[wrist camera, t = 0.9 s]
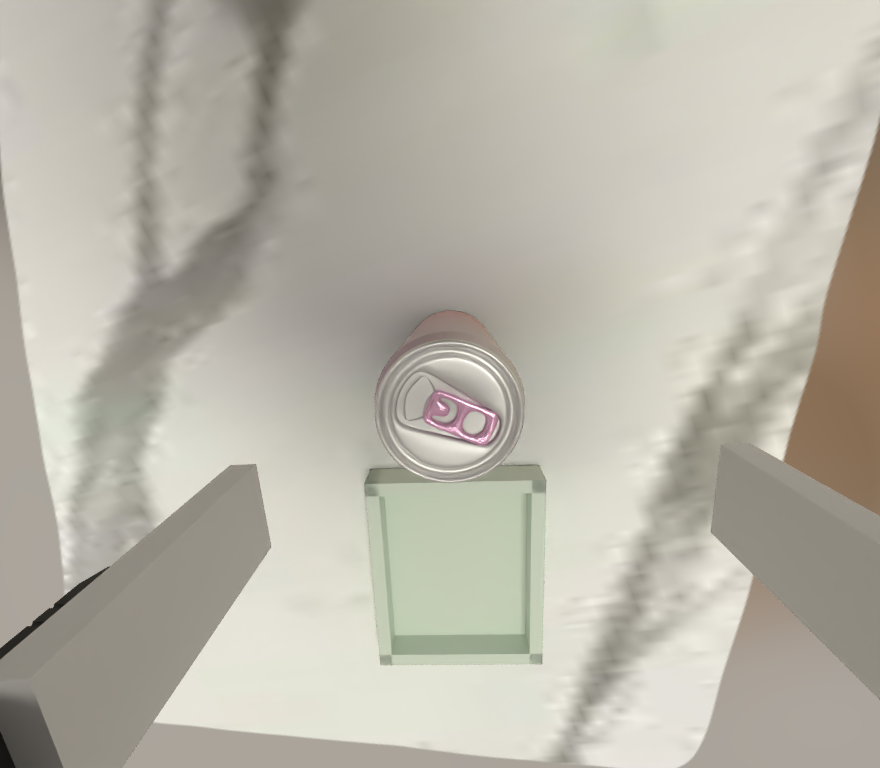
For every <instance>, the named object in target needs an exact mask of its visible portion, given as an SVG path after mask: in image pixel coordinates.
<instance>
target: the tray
mask: <svg viewBox="0 0 880 768" xmlns="http://www.w3.org/2000/svg"><path fill="white" fill-rule="evenodd" d="M364 487H365V498H366V509H367V521H368V532H369V543H370V555H371V566H372V577H373V589H374V600H375V611H376V622H377V634H378V645H379V656H380V665H493V664H542V648H543V604H544V559H545V515H546V478H545V476H544V474H543V472H542V470H541V468H540V466H539V465H523V466H498V467H496V468H495V469H494V470H492V471H491V472H489V473H487V474H485V475H483V476H481V477H479V478H476V479H473V480H470V481H466V482H459V483H440V482H434V481H430V480H426V479H423V478H421V477H418V476H416V475H414V474H412V473H411V472H409V471H407V470H406V469H405V468H397V469H371V470H370V472H369V475H368V477H367V479H366V481H365V484H364Z"/></svg>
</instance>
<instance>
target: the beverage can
mask: <svg viewBox="0 0 880 768" xmlns="http://www.w3.org/2000/svg"><path fill="white" fill-rule="evenodd" d="M524 409H525V398H524V390H523V386H522V383H521V380H520V377H519V375H518V373H517V371H516V369H515V367H514V366H513V364H512V363H511V361H510V360H509V359H508V357H507V356H506V355H505V353H504V352H503V351H502V350H501V348H500V347H499V346H498V344H497V343H496V342H495V340H494V339H493V338H492V337H491V335H490V334H489V333H488V331H487V330H486V329H485V327H484V326H483V325H482V324H481V323H480V322H479V321H478V320H477V319H475V318H474V317H472V316H470V315H468V314H466V313H463V312H459V311H442V312H438V313H435V314H433V315H431V316H429V317H428V318H426V319H425V320H423V321H422V322H421V323H420V324H419V325H418V326H417V328H416V329H415V330H414V331H413V332H412V334H411V335H410V336H409V337H408V338H407V340H406V341H405V342H404V343H403V344H402V346H401V347H400V348H399V349H398V350H397V352H396V353H395V354H394V355H393V356H392V358H391V359H390V360H389V361H388V363H387V364H386V366H385V367H384V369H383V371H382V373H381V375H380V378H379V380H378V383H377V387H376V393H375V421H376V427H377V431H378V434H379V436H380V439H381V441H382V443H383V445H384V447H385V448H386V450H387V451H388V453H389V454H390V455H391V456H392V458H393V459H394V460H395V461H396V462H397V463H398V464H399V465H401V466H402V467H403V468H405V469H406V470H407V471H409V472H411V473H412V474H414V475H416V476H418V477H421V478H423V479H426V480H430V481H434V482H440V483H459V482H466V481H470V480H473V479H476V478H479V477H481V476H483V475H485V474H487V473H489V472H491V471H492V470H494V469H495V468H496V467H498V466H499V465H500V464H501V463H502V462H503V461H504V460H505V459H506V458H507V457H508V456H509V454H510V453H511V452H512V450H513V449H514V447H515V445H516V444H517V442H518V439H519V437H520V434H521V431H522V427H523V422H524Z"/></svg>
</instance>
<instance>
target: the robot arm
mask: <svg viewBox="0 0 880 768" xmlns="http://www.w3.org/2000/svg"><path fill="white" fill-rule="evenodd" d="M711 533H712V534H713V535H714V536H715V537H716V538H717V539H718V540H719V541H720V542H721V543H722V544H723V545H724V546H725V547H726V548H727V549H728V550H729V551H730V552H731V553H732V554H733V555H734V556H735V557H736V558H737V559H738V560H739V561H740V562H741V563H742V564H743V565H744V566H745V567H746V568H747V569H748V570H749V571H750V572H751V573H752V574H753V575H754V576H755V577H757V578H758V579H759V580H760V581H761V582H762V583H763V584H764V585H765V586H766V587H767V588H768V589H769V590H770V591H771V592H772V593H773V594H774V595H775V596H776V597H777V598H778V599H779V600H780V601H781V602H782V603H783V604H784V605H785V606H786V607H787V608H788V609H789V610H790V611H791V612H792V613H793V614H794V615H795V616H796V617H797V618H798V619H799V620H800V621H801V622H802V623H803V624H804V625H805V626H806V627H807V628H808V629H809V630H810V631H811V632H812V633H813V634H814V635H815V636H816V637H817V638H818V639H819V640H820V641H821V642H822V643H823V644H824V645H825V646H826V647H827V648H828V649H829V650H830V651H831V652H832V653H833V654H834V655H835V656H836V657H838V659H839V660H840V661H841V662H842V663H843V664H844V665H845V666H846V667H847V668H848V669H849V670H850V671H851V672H852V673H853V674H854V675H855V676H856V677H857V678H858V679H859V680H860V681H861V682H862V683H863V684H864V685H865V686H866V687H868V689H869V690H870V691H871V692H872V693H873V694H874V695H875V696H877V697H878V698H879V699H880V516H878V515H877V514H875V513H873V512H871V511H870V510H868V509H866V508H864V507H862V506H861V505H859V504H857V503H855V502H853V501H852V500H850V499H848V498H846V497H845V496H843V495H841V494H839V493H837V492H836V491H834V490H832V489H830V488H828V487H826V486H825V485H823V484H821V483H819V482H818V481H816V480H814V479H813V478H811V477H809V476H807V475H805V474H804V473H802V472H800V471H798V470H796V469H795V468H793V467H791V466H789V465H788V464H785V463H784V462H782V461H780V460H779V459H777V458H775V457H773V456H772V455H770V454H768V453H766V452H764V451H763V450H761V449H759V448H757V447H756V446H754V445H752V444H750V443H740V444H721V447H720V456H719V465H718V473H717V482H716V490H715V499H714V507H713V516H712V525H711ZM270 548H271V542H270V537H269V532H268V526H267V521H266V515H265V510H264V505H263V499H262V494H261V489H260V483H259V478H258V472H257V467H256V464H248V465H230V466H229V467H228V468H226V469H225V470H224V471H223V472H222V473H221V474H219V475H218V476H217V477H216V478H215V479H213V480H212V481H211V482H210V483H209V484H207V485H206V486H205V487H204V488H203V489H202V490H200V491H199V492H198V493H197V494H196V495H194V496H193V497H192V498H191V499H190V500H189V501H187V502H186V503H185V504H184V505H183V506H181V507H180V508H179V509H178V510H177V511H176V512H174V513H173V514H172V515H171V516H170V517H168V518H167V519H166V520H165V521H164V522H162V523H161V524H160V525H159V526H158V527H157V528H155V529H154V530H153V531H152V532H151V533H149V534H148V535H147V536H146V537H145V538H144V539H142V540H141V541H140V542H139V543H138V544H136V545H135V546H134V547H133V548H132V549H131V550H129V551H128V552H127V553H126V554H125V555H123V556H122V557H121V558H120V559H119V560H117V561H116V562H115V563H114V564H113V565H112V566H110V567H107V568H105V569H104V570H102V571H100V572H99V573H97V574H95V575H93V576H92V577H90V578H88V579H86V580H85V581H83V582H81V583H80V584H78V585H77V586H76V587H74V588H73V589H72V590H71V591H70V592H68V593H67V594H66V595H65V596H64V597H62V598H61V599H60V600H59V601H57V602H56V603H55V604H54V607H53V608H51V609H50V608H49V609H48V610H46V611H45V612H44V613H43V614H42V615H41V616H39V617H38V618H37V619H36V620H34V621H33V624H32V626H27V627H26V628H24V629H23V630H22V631H21V632H20V633H18V634H17V635H16V636H15V637H14V638H12V639H11V640H10V641H9V642H8V643H6V644H5V645H4V646H3V647H1V648H0V768H122V767H123V766H124V764H125V763H126V761H127V760H128V758H129V757H130V755H131V754H132V752H133V751H134V750H135V748H136V747H137V745H138V743H139V742H140V740H141V739H142V738H143V736H144V735H145V733H146V732H147V730H148V729H149V727H150V726H151V724H152V723H153V721H154V720H155V718H156V717H157V715H158V714H159V712H160V711H161V709H162V708H163V707H164V705H165V704H166V702H167V701H168V699H169V698H170V696H171V695H172V693H173V692H174V690H175V689H176V687H177V686H178V684H179V683H180V681H181V680H182V678H183V677H184V675H185V674H186V672H187V671H188V669H189V668H190V666H191V665H192V664H193V662H194V661H195V659H196V658H197V656H198V655H199V653H200V652H201V650H202V649H203V647H204V646H205V644H206V643H207V641H208V640H209V638H210V637H211V635H212V634H213V632H214V631H215V629H216V628H217V626H218V625H219V624H220V622H221V621H222V619H223V618H224V616H225V615H226V613H227V612H228V610H229V609H230V607H231V606H232V604H233V603H234V601H235V600H236V598H237V597H238V595H239V594H240V592H241V591H242V589H243V588H244V586H245V585H246V583H247V582H248V581H249V579H250V578H251V576H252V575H253V573H254V572H255V570H256V569H257V567H258V566H259V564H260V563H261V561H262V560H263V558H264V557H265V555H266V554H267V552H268V551H269V549H270Z"/></svg>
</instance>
